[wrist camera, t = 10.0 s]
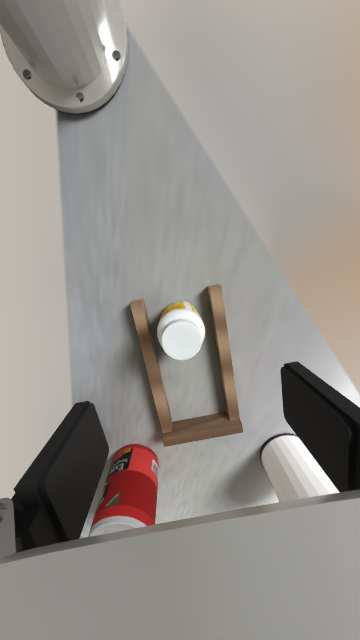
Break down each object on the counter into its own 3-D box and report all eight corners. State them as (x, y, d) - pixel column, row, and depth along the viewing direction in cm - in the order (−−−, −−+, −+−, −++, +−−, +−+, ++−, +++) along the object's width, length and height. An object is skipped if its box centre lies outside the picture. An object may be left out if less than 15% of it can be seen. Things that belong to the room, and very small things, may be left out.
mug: (251, 468, 36) (281, 545, 26) (267, 426, 34) (306, 492, 24) (308, 477, 36) (359, 555, 26) (327, 437, 34) (389, 505, 24)
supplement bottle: (204, 308, 29) (218, 325, 19) (190, 341, 30) (197, 373, 20) (168, 294, 28) (165, 306, 19) (155, 329, 29) (147, 357, 20)
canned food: (126, 435, 33) (103, 513, 22) (168, 454, 34) (165, 537, 24) (105, 468, 35) (74, 556, 24) (146, 485, 36) (134, 576, 25)
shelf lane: (132, 300, 28) (127, 304, 25) (217, 284, 28) (222, 285, 25) (165, 431, 33) (164, 446, 30) (236, 418, 33) (243, 432, 30)
